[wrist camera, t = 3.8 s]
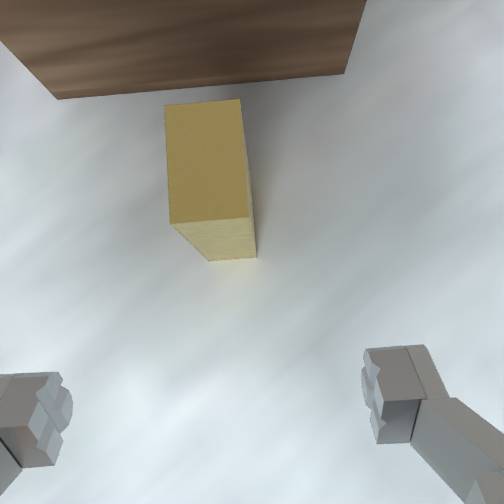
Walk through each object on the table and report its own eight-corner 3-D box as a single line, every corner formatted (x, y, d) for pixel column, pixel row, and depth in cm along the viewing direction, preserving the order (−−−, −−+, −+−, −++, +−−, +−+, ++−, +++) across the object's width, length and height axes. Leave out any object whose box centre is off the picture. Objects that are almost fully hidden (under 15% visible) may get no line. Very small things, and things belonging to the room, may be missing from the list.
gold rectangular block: (257, 257, 22) (249, 217, 14) (209, 260, 23) (170, 223, 14) (251, 183, 23) (240, 99, 14) (204, 187, 23) (164, 105, 14)
